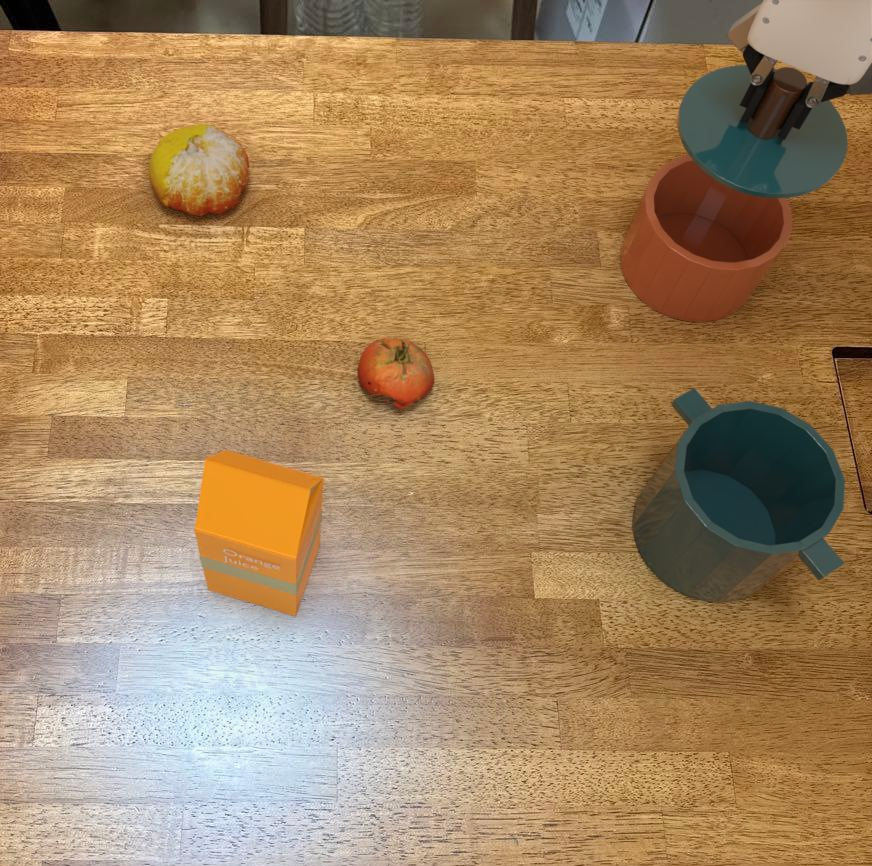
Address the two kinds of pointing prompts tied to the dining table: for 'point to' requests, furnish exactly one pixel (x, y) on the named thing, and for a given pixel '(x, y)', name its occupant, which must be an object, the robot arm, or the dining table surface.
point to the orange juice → (258, 529)
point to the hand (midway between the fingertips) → (767, 119)
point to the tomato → (396, 371)
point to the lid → (760, 134)
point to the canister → (700, 243)
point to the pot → (739, 501)
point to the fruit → (199, 170)
